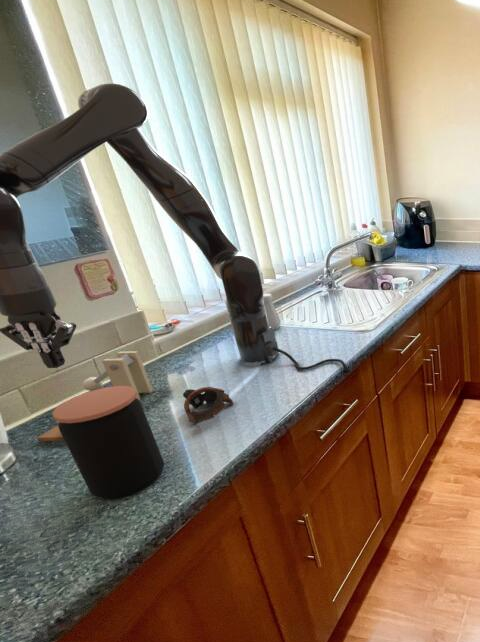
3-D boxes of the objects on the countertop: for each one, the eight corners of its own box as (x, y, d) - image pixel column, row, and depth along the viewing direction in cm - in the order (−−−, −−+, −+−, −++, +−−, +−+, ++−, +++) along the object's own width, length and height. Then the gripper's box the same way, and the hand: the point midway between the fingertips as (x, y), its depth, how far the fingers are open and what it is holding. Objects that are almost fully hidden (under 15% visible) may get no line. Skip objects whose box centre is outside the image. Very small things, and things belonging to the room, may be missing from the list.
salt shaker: (273, 332, 144) (265, 297, 140) (259, 330, 145) (251, 296, 141) (285, 326, 150) (278, 292, 145) (271, 324, 151) (264, 291, 146)
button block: (129, 419, 96) (123, 405, 94) (94, 444, 87) (87, 429, 86) (80, 420, 95) (73, 406, 94) (41, 446, 87) (33, 430, 85)
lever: (87, 395, 100) (75, 385, 99) (99, 388, 103) (88, 378, 102) (127, 367, 98) (115, 357, 97) (138, 361, 101) (126, 351, 100)
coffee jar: (123, 462, 82) (89, 386, 75) (179, 460, 83) (150, 384, 76) (75, 504, 72) (31, 420, 66) (139, 500, 73) (102, 417, 66)
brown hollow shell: (246, 404, 102) (233, 389, 96) (218, 438, 96) (203, 424, 90) (205, 389, 103) (189, 372, 97) (175, 421, 98) (156, 406, 91)
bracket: (103, 409, 99) (83, 363, 95) (130, 392, 107) (113, 349, 102) (146, 408, 100) (128, 362, 95) (169, 391, 107) (154, 348, 103)
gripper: (74, 282, 82) (105, 357, 89) (5, 282, 82) (41, 358, 88) (35, 293, 75) (72, 374, 82) (-40, 294, 75) (3, 375, 81)
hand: (56, 366), depth 85 cm, fingers closed
